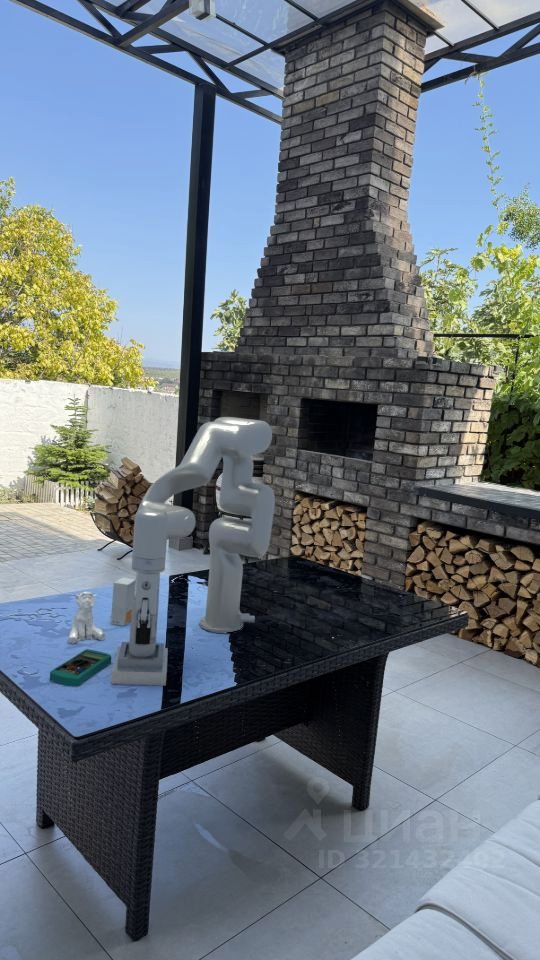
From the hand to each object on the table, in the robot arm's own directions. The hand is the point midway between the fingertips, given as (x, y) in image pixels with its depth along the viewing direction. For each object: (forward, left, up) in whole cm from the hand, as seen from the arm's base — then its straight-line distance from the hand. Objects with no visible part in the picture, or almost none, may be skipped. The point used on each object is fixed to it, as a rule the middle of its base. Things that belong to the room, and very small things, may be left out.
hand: (143, 637), depth 147 cm
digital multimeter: (+13, +1, -9) cm, 16 cm away
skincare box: (+7, -32, -8) cm, 34 cm away
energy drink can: (0, 0, -5) cm, 5 cm away
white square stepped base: (0, 0, -8) cm, 8 cm away
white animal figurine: (+16, -20, -8) cm, 27 cm away
